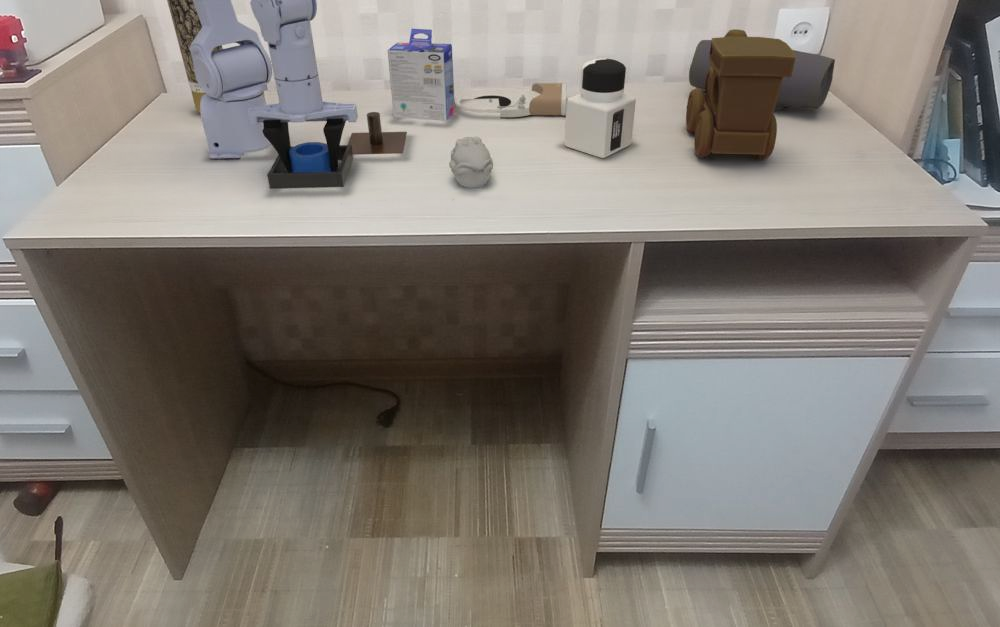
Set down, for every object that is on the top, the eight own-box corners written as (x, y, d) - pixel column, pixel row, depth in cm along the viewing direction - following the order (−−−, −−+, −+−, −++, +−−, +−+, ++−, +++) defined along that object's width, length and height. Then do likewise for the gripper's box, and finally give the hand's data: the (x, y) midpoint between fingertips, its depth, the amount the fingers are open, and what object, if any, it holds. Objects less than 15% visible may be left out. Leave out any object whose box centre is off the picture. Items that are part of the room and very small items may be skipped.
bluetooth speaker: (683, 99, 129) (691, 42, 123) (702, 85, 135) (711, 31, 130) (811, 123, 119) (826, 63, 113) (825, 107, 125) (840, 49, 119)
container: (632, 145, 112) (640, 61, 104) (603, 159, 107) (610, 73, 100) (592, 133, 116) (598, 51, 108) (563, 146, 111) (567, 62, 104)
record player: (566, 101, 119) (449, 100, 121) (565, 119, 121) (450, 118, 123) (566, 80, 129) (458, 79, 130) (565, 97, 131) (459, 96, 132)
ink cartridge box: (456, 115, 124) (452, 28, 115) (448, 126, 119) (444, 37, 111) (403, 111, 125) (395, 26, 117) (393, 122, 121) (384, 34, 112)
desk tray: (271, 194, 98) (266, 174, 96) (286, 165, 106) (282, 146, 105) (344, 193, 98) (341, 173, 97) (354, 163, 107) (351, 144, 105)
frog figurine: (484, 174, 103) (483, 128, 99) (501, 193, 98) (500, 145, 94) (444, 180, 101) (441, 134, 97) (459, 200, 96) (457, 152, 92)
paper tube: (244, 107, 128) (210, -46, 113) (213, 118, 123) (174, -39, 109) (219, 101, 131) (183, -49, 116) (188, 111, 126) (146, -43, 112)
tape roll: (290, 184, 100) (285, 157, 97) (298, 168, 104) (293, 142, 102) (330, 183, 100) (326, 156, 98) (336, 167, 104) (332, 141, 102)
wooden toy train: (776, 172, 103) (803, 55, 93) (696, 170, 104) (716, 54, 94) (749, 123, 119) (770, 19, 109) (680, 121, 120) (695, 18, 110)
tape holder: (344, 160, 108) (339, 125, 104) (352, 138, 115) (347, 104, 112) (403, 159, 108) (400, 123, 105) (407, 137, 115) (404, 103, 112)
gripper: (233, 85, 90) (255, 183, 98) (346, 83, 91) (360, 180, 99) (247, 69, 96) (267, 162, 104) (353, 67, 96) (365, 160, 104)
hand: (313, 170), depth 102 cm, fingers closed on tape roll, 6 cm apart
